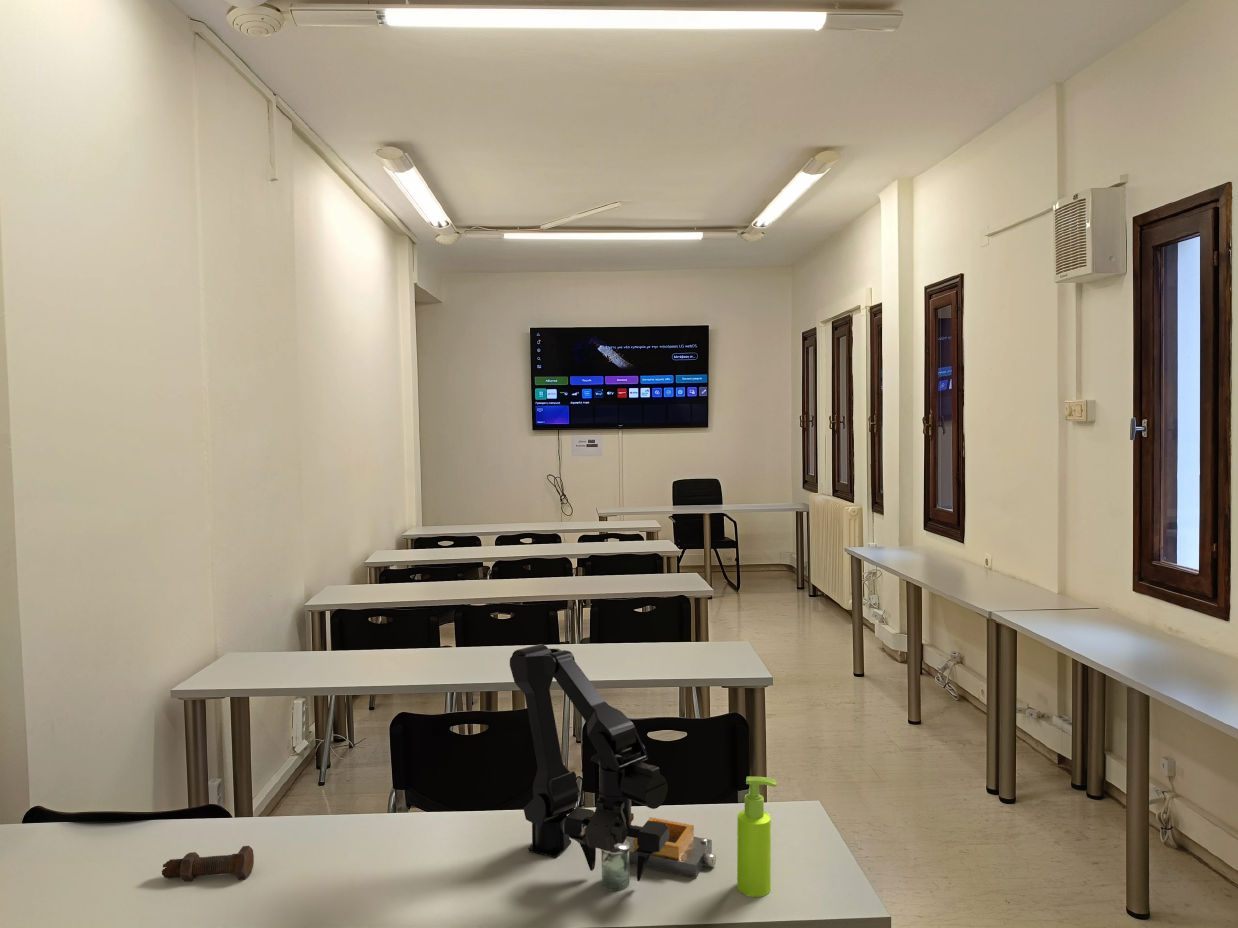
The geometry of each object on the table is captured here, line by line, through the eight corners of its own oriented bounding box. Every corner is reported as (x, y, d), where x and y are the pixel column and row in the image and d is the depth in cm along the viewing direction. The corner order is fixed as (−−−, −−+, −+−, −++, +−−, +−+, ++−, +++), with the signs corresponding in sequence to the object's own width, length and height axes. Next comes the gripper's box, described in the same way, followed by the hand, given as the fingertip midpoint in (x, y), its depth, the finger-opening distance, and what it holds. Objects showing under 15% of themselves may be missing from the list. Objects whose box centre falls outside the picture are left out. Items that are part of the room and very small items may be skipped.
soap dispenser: (776, 899, 148) (776, 786, 147) (736, 894, 149) (736, 783, 148) (776, 881, 154) (777, 773, 153) (738, 877, 155) (738, 770, 154)
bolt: (167, 886, 156) (251, 880, 158) (156, 886, 152) (242, 879, 153) (173, 852, 159) (255, 845, 160) (161, 850, 155) (246, 844, 156)
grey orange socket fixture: (615, 860, 161) (615, 835, 161) (634, 837, 170) (634, 812, 170) (706, 880, 154) (706, 853, 154) (721, 854, 163) (721, 829, 163)
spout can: (590, 895, 150) (589, 856, 149) (608, 873, 157) (607, 835, 157) (617, 900, 148) (617, 861, 147) (634, 878, 155) (633, 840, 155)
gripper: (548, 799, 149) (549, 886, 150) (647, 818, 142) (648, 909, 142) (575, 775, 159) (576, 856, 160) (669, 791, 152) (670, 876, 153)
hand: (615, 874), depth 153 cm, fingers open, 9 cm apart
